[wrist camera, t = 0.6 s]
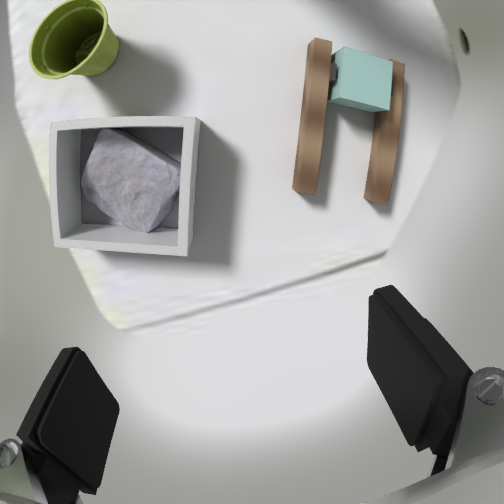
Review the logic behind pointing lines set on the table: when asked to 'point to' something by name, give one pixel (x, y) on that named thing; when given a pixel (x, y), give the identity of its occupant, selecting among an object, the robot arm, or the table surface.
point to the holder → (117, 236)
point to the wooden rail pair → (314, 121)
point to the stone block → (130, 180)
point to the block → (361, 81)
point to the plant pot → (73, 41)
